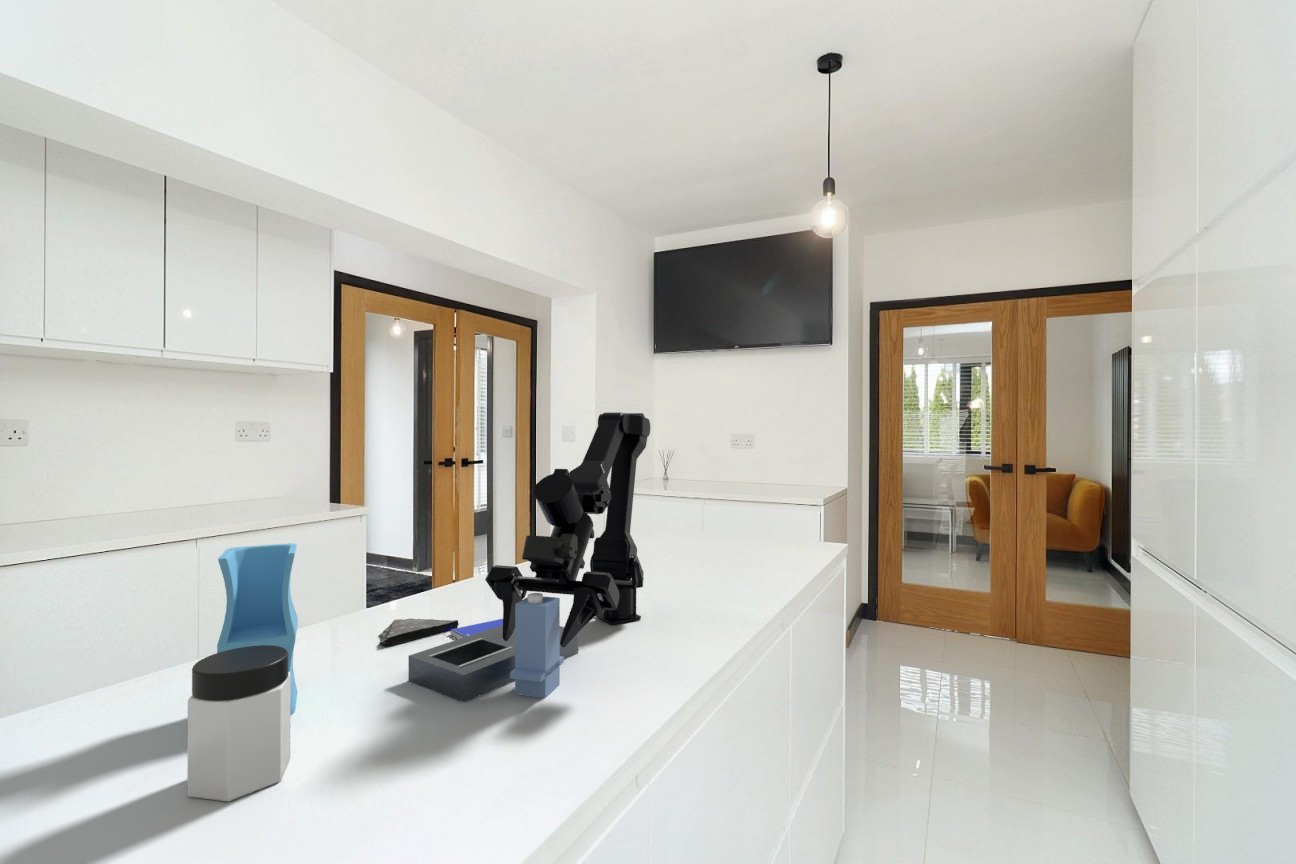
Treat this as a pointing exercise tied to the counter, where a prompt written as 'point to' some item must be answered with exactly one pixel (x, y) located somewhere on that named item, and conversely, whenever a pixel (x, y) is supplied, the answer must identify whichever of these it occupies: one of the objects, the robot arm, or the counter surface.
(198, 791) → the jar
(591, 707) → the counter surface
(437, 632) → the stone
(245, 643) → the vase
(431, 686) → the plate
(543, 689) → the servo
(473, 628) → the hard drive
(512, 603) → the robot arm
